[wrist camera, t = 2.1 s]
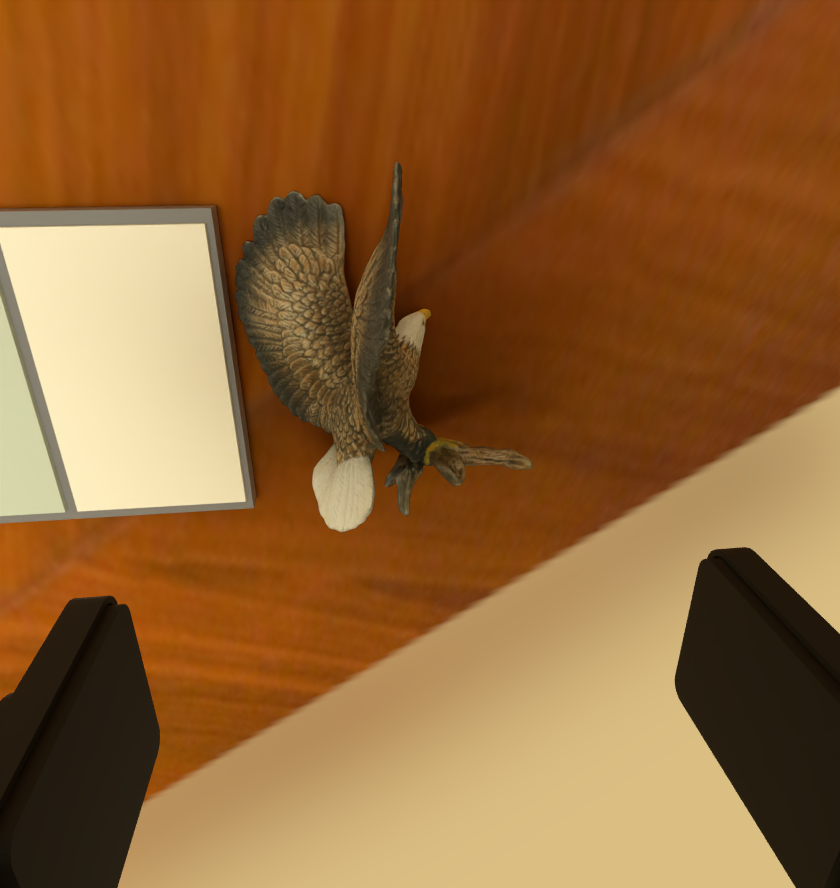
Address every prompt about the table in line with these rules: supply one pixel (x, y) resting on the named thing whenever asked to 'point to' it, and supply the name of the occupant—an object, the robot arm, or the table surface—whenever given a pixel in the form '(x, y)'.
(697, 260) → the table surface
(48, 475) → the game board
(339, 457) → the eagle figurine
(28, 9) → the table surface
